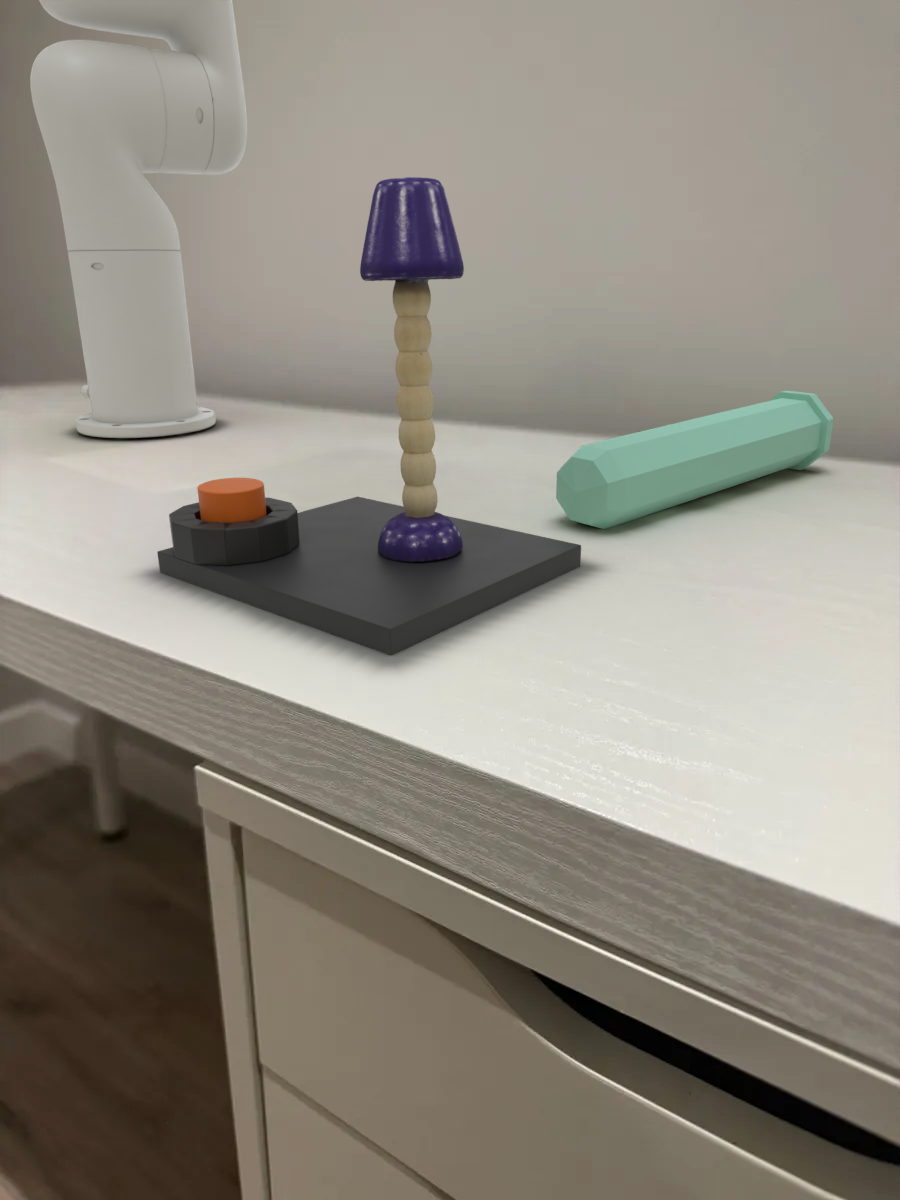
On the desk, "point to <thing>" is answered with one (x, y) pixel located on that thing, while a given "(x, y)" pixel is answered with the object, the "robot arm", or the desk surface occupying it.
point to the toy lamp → (414, 348)
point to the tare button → (232, 500)
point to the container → (691, 459)
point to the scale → (358, 569)
